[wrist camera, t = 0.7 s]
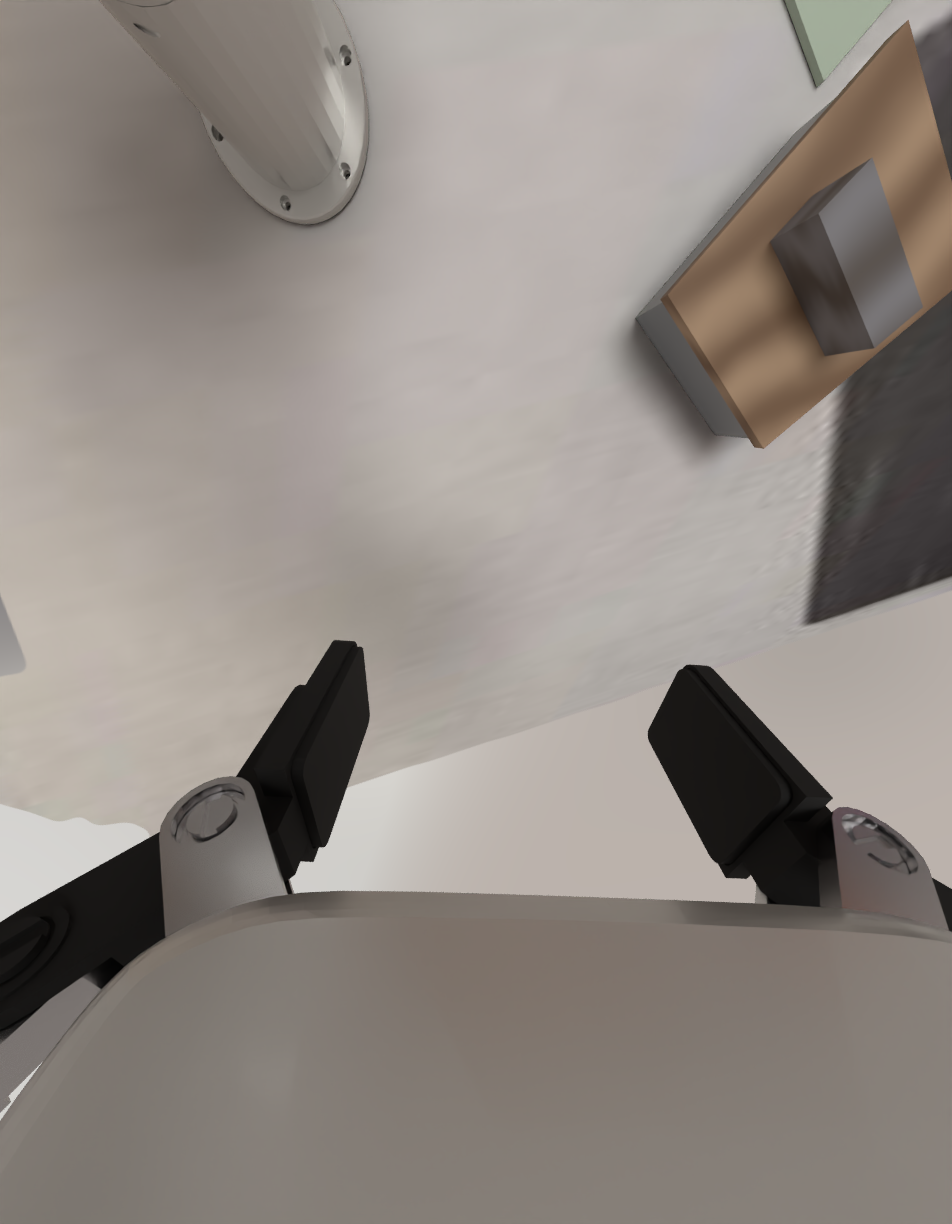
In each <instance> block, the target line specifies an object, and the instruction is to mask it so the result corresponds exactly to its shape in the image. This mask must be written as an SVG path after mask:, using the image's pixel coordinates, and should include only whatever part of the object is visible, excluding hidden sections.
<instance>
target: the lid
mask: <svg viewBox="0 0 952 1224" xmlns="http://www.w3.org/2000/svg"><path fill="white" fill-rule="evenodd" d="M950 291H952V181H951V177H950V173H949V170H948V166H947V162H946V158H945V155H944V151H943V147H942V144H941V140H940V136H939V132H938V129H937V125H936V121H935V117H934V114H933V110H932V106H931V102H930V99H929V95H928V91H927V87H926V84H925V80H924V76H923V72H922V69H921V65H920V61H919V58H918V54H917V50H916V46H915V43H914V39H913V35H912V31H911V28H910V24H909V20H908V21H907V22H906V23H904V24H903V25H902V26H901V27H900V28H899V29H898V30H897V31H896V32H894V33H893V34H892V35H891V36H890V37H889V38H888V39H887V40H886V41H885V42H884V43H883V44H882V45H881V47H880V48H879V49H878V50H877V51H876V52H875V53H874V55H873V56H872V57H871V58H870V59H869V60H868V62H867V63H866V64H865V65H864V66H863V67H862V68H861V70H860V71H859V72H858V73H857V74H856V75H855V76H854V78H853V79H852V80H851V81H850V82H849V83H848V84H847V86H846V87H845V88H844V89H843V90H842V91H841V92H840V94H839V95H838V96H837V97H836V98H835V99H834V100H833V102H832V103H831V104H830V105H829V106H828V107H827V109H826V110H825V111H824V112H823V113H822V114H821V115H820V117H819V118H818V119H817V120H816V121H815V122H814V123H813V125H812V126H811V127H810V128H809V129H808V130H807V131H806V133H805V134H804V135H803V136H802V137H801V138H800V139H799V141H798V142H797V143H796V144H795V145H794V146H793V147H792V149H791V150H790V151H789V152H788V153H787V154H786V155H785V157H784V158H783V159H782V160H781V161H780V162H779V164H778V165H777V166H776V167H775V168H774V169H773V170H772V172H771V173H770V174H769V175H768V176H767V177H766V178H765V180H764V181H763V182H762V183H761V184H760V185H759V186H758V188H757V189H756V190H755V191H754V192H753V193H752V194H751V196H750V197H749V198H748V199H747V200H746V201H745V202H744V204H743V205H742V206H741V207H740V208H739V209H738V211H737V212H736V213H735V214H734V215H733V216H732V217H731V219H730V220H729V221H728V222H727V223H726V224H725V225H724V227H723V228H722V229H721V230H720V231H719V232H718V233H717V235H716V236H715V237H714V238H713V239H712V240H711V241H710V243H709V244H708V245H707V246H706V247H705V248H704V249H703V251H702V252H701V253H700V254H699V255H698V256H697V258H696V259H695V260H694V261H693V262H692V263H691V264H690V266H689V267H688V268H687V269H686V270H685V271H684V272H683V274H682V275H681V276H680V277H679V278H678V279H677V280H676V282H675V283H674V284H673V285H672V286H671V287H670V288H669V290H668V291H667V292H666V293H665V294H664V295H663V296H662V298H661V299H660V300H661V301H662V303H663V305H664V306H665V308H666V309H667V311H668V312H669V314H670V316H671V317H672V319H673V320H674V322H675V323H676V325H677V327H678V328H679V330H680V331H681V333H682V334H683V336H684V338H685V339H686V341H687V342H688V344H689V345H690V347H691V349H692V350H693V352H694V353H695V355H696V356H697V358H698V360H699V361H700V363H701V364H702V366H703V367H704V369H705V371H706V372H707V374H708V375H709V377H710V378H711V380H712V382H713V383H714V385H715V386H716V388H717V389H718V391H719V393H720V394H721V396H722V397H723V399H724V400H725V402H726V404H727V405H728V407H729V408H730V410H731V411H732V413H733V415H734V416H735V418H736V419H737V421H738V422H739V424H740V426H741V427H742V429H743V430H744V432H745V433H746V435H747V437H748V438H749V440H750V441H751V443H752V444H753V446H754V447H756V448H763V449H764V448H765V447H766V446H767V445H768V444H770V443H771V442H772V441H773V440H774V439H776V438H777V437H778V436H779V435H780V434H782V433H783V432H784V431H785V430H786V429H787V428H789V427H790V426H791V425H792V424H793V423H795V422H796V421H797V420H798V419H799V418H801V417H802V416H803V415H804V414H805V413H807V412H808V411H809V410H810V409H811V408H812V407H814V406H815V405H816V404H817V403H818V402H820V401H821V400H822V399H823V398H824V397H826V396H827V395H828V394H829V393H830V392H831V391H833V390H834V389H835V388H836V387H837V386H839V385H840V384H841V383H842V382H843V381H845V380H846V379H847V378H848V377H849V376H851V375H852V374H853V373H854V372H855V371H856V370H858V369H859V368H860V367H861V366H862V365H864V364H865V363H866V362H867V361H868V360H870V359H871V358H872V357H873V356H874V355H875V354H877V353H878V352H879V351H880V350H881V349H883V348H884V347H885V346H886V345H887V344H889V343H890V342H891V341H892V340H893V339H895V338H896V337H897V336H898V335H899V334H900V333H902V332H903V331H904V330H905V329H906V328H908V327H909V326H910V325H911V324H912V323H914V322H915V321H916V320H917V319H918V318H919V317H921V316H922V315H923V314H924V313H925V312H927V311H928V310H929V309H930V308H931V307H933V306H934V305H935V304H936V303H937V302H939V301H940V300H941V299H942V298H943V297H944V296H946V295H947V294H948V293H949V292H950Z"/></svg>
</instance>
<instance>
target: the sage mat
mask: <svg viewBox="0 0 952 1224" xmlns="http://www.w3.org/2000/svg"><path fill="white" fill-rule="evenodd" d="M891 1H892V0H785V3H786V5H787V8H788V11H789V13H790V16H791V19H792V22H793V24H794V27H795V30H796V32H797V35H798V38H799V41H800V43H801V46H802V49H803V51H804V54H805V57H806V60H807V62H808V65H809V68H810V70H811V73H812V76H813V79H814V81H815V84H816V87H818V86H819V85H820V84H821V83H822V82H823V81H824V80H825V79H826V78H827V77H828V75H829V74H830V73H831V72H832V71H833V69H834V68H835V67H836V66H837V65H838V64H839V62H840V61H841V60H842V59H843V58H844V56H845V55H846V54H847V53H848V52H849V51H850V49H851V48H852V47H853V46H854V45H855V43H856V42H857V41H858V40H859V39H860V38H861V36H862V35H863V34H864V33H865V32H866V31H867V29H868V28H869V27H870V26H871V25H872V23H873V22H874V21H875V20H876V19H877V18H878V16H879V15H880V14H881V13H882V12H883V10H884V9H885V8H886V7H887V6H888V5H889V3H890V2H891Z"/></svg>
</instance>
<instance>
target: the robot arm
mask: <svg viewBox="0 0 952 1224" xmlns="http://www.w3.org/2000/svg"><path fill="white" fill-rule="evenodd" d="M99 1H100V2H101V3H102V4H103V5H104V7H105V8H106V9H107V10H108V11H109V12H110V13H111V14H112V15H113V16H114V18H115V19H116V20H117V21H118V22H119V23H120V24H121V25H122V26H123V27H124V28H125V30H126V31H127V32H128V33H129V34H130V35H131V36H132V37H133V38H134V39H135V41H136V42H137V43H138V44H139V45H140V46H141V47H142V48H143V49H144V50H145V51H146V53H147V54H148V55H149V56H150V57H151V58H152V59H153V60H154V61H155V62H156V64H157V65H158V66H159V67H160V68H161V69H162V70H163V71H164V72H165V73H166V74H167V76H168V77H169V78H170V79H171V80H172V81H173V82H174V83H175V84H176V85H177V87H178V88H179V89H180V90H181V91H182V92H183V93H184V94H185V95H186V96H187V97H188V99H189V100H190V101H191V102H192V103H193V104H194V105H195V106H196V107H197V108H198V109H199V112H200V115H201V117H202V120H203V123H204V125H205V128H206V131H207V133H208V135H209V137H210V139H211V141H212V143H213V145H214V147H215V149H216V151H217V153H218V155H219V157H220V158H221V160H222V161H223V163H224V164H225V166H226V167H227V169H228V171H229V172H230V174H231V175H232V176H233V177H234V179H235V180H236V181H237V182H238V183H239V184H240V186H241V187H242V188H243V189H244V190H245V191H246V192H247V193H248V194H249V195H250V196H251V197H252V198H253V199H254V200H255V201H256V202H257V203H258V204H260V205H261V206H262V207H264V208H265V209H266V210H268V211H269V212H270V213H272V214H273V215H276V216H278V217H280V218H282V219H284V220H286V221H289V222H294V223H298V224H316V223H319V222H322V221H325V220H328V219H330V218H331V217H333V216H334V215H335V214H337V213H338V212H340V211H341V210H342V209H343V207H344V206H345V205H346V204H347V203H348V201H349V200H350V199H351V197H352V195H353V194H354V192H355V190H356V188H357V186H358V184H359V182H360V179H361V175H362V172H363V169H364V166H365V161H366V155H367V149H368V140H369V113H368V103H367V93H366V88H365V83H364V79H363V74H362V69H361V65H360V62H359V59H358V56H357V53H356V49H355V46H354V43H353V41H352V38H351V36H350V33H349V31H348V28H347V26H346V23H345V21H344V18H343V16H342V14H341V12H340V11H339V9H338V7H337V5H336V3H335V2H334V0H99ZM347 62H351V63H350V64H349V66H346V64H347ZM223 137H224V139H223V140H222V138H223ZM347 173H349V174H350V177H349V178H348V179H346V174H347ZM289 205H291V209H290V210H289V211H288V206H289ZM369 717H370V712H369V702H368V692H367V682H366V672H365V662H364V653H363V648H362V647H357V644H356V642H354V641H341V640H334V641H333V642H332V643H331V645H330V647H329V648H328V650H327V652H326V653H325V655H324V656H323V658H322V660H321V661H320V663H319V664H318V666H317V668H316V669H315V671H314V672H313V674H312V676H311V677H310V679H309V680H308V682H307V684H306V685H298V686H297V687H295V689H294V690H293V691H292V692H291V694H290V695H289V697H288V698H287V700H286V701H285V703H284V704H283V706H282V708H281V709H280V711H279V712H278V714H277V715H276V717H275V718H274V720H273V721H272V723H271V724H270V726H269V727H268V729H267V730H266V732H265V733H264V735H263V736H262V738H261V740H260V741H259V743H258V744H257V746H256V747H255V749H254V750H253V752H252V753H251V755H250V756H249V758H248V759H247V761H246V762H245V764H244V765H243V767H242V768H241V770H240V771H239V773H238V775H237V776H236V777H232V776H229V777H222V778H217V779H214V780H211V781H208V782H206V783H203V784H202V785H200V786H198V787H196V788H194V789H193V790H191V791H190V792H188V793H187V794H186V795H185V796H183V797H182V798H181V799H180V800H179V801H177V803H176V804H175V805H174V806H173V807H172V808H171V810H170V811H169V812H168V813H167V815H166V817H165V819H164V821H163V823H162V825H161V829H160V832H159V833H157V834H155V835H153V836H152V837H150V838H148V839H146V840H144V841H143V842H141V843H139V844H137V845H136V846H134V847H132V848H130V849H128V850H127V851H125V852H123V853H121V854H120V855H118V856H116V857H114V858H112V859H110V860H109V861H107V862H105V863H103V864H101V865H100V866H98V867H96V868H94V869H92V870H91V871H89V872H87V873H85V874H83V875H82V876H80V877H78V878H76V879H74V880H73V881H71V882H69V883H67V884H65V885H64V886H62V887H60V888H58V889H56V890H55V891H53V892H51V893H49V894H47V895H46V896H44V897H42V898H40V899H38V900H37V901H35V902H33V903H31V904H29V905H28V906H26V907H24V908H22V909H20V910H19V911H17V912H16V913H14V914H13V915H11V916H9V917H8V918H6V919H5V920H3V921H2V922H0V1112H1V1111H2V1110H3V1109H4V1108H5V1107H6V1106H7V1105H8V1104H9V1103H10V1102H11V1101H10V1098H9V1097H8V1096H9V1095H10V1093H11V1092H13V1091H14V1089H16V1088H17V1087H18V1086H19V1084H21V1083H22V1082H23V1081H24V1080H25V1079H26V1077H28V1075H30V1074H31V1072H33V1071H34V1070H35V1069H36V1068H37V1066H38V1065H40V1064H41V1062H42V1064H41V1065H40V1066H39V1068H38V1069H37V1071H36V1072H35V1073H34V1075H33V1076H32V1078H31V1079H30V1080H29V1082H28V1083H27V1084H26V1086H25V1087H24V1088H23V1090H22V1091H21V1092H20V1094H19V1095H18V1096H17V1098H16V1099H15V1101H14V1102H13V1104H12V1105H11V1106H10V1108H9V1109H8V1111H7V1112H6V1114H5V1115H4V1117H3V1118H2V1119H1V1121H0V1224H952V889H951V888H949V887H947V886H945V885H944V884H942V883H940V882H939V881H937V880H935V879H933V878H932V877H931V874H930V871H929V868H928V866H927V864H926V862H925V860H924V859H923V857H922V856H921V855H920V854H919V852H918V851H917V850H916V849H915V848H914V847H913V846H912V845H911V844H910V843H909V842H908V841H907V840H906V839H905V838H904V837H903V836H902V835H901V834H899V833H898V832H897V831H895V830H894V829H892V828H891V827H890V826H889V825H887V824H886V823H884V822H882V821H880V820H879V819H877V818H875V817H873V816H872V815H869V814H867V813H865V812H862V811H860V810H857V809H853V808H849V807H839V808H837V809H836V810H834V811H833V812H831V811H830V810H829V809H828V808H827V807H826V806H825V805H826V804H827V803H828V802H829V801H830V800H831V799H833V798H832V797H831V795H830V794H829V793H828V792H827V791H826V790H825V789H824V788H823V787H822V786H821V785H820V784H819V783H818V781H817V780H816V779H815V778H814V777H813V776H812V775H811V774H810V773H809V772H808V771H807V770H806V769H805V768H804V767H803V765H802V764H801V763H800V762H799V761H798V760H797V759H796V758H795V757H794V756H793V755H792V753H791V752H790V751H789V750H787V748H786V747H785V746H784V745H783V744H782V743H781V742H780V741H779V740H778V738H777V737H776V736H775V735H774V734H773V733H772V732H771V731H770V730H769V729H768V728H767V727H766V725H765V724H764V723H763V722H762V721H761V720H760V719H759V718H758V717H757V716H756V715H755V714H754V713H753V711H751V709H750V708H749V707H748V706H747V705H746V704H745V703H744V702H743V701H742V700H741V699H740V698H739V696H738V695H737V694H736V693H735V692H734V691H733V690H732V689H731V688H730V687H729V686H728V685H727V684H726V683H725V681H724V680H723V679H722V678H721V677H720V676H719V675H718V674H717V673H716V672H715V671H714V670H713V669H712V668H711V667H709V666H702V665H686V666H685V667H684V668H683V669H680V670H679V671H678V672H677V674H676V676H675V678H674V680H673V682H672V684H671V686H670V688H669V690H668V692H667V694H666V696H665V698H664V700H663V702H662V704H661V706H660V708H659V710H658V712H657V714H656V716H655V718H654V720H653V722H652V724H651V726H650V728H649V730H648V739H649V742H650V744H651V746H652V748H653V750H654V751H655V753H656V755H657V757H658V759H659V761H660V763H661V765H662V766H663V769H664V771H665V772H666V774H667V776H668V778H669V780H670V782H671V784H672V786H673V788H674V789H675V791H676V793H677V795H678V797H679V799H680V801H681V803H682V805H683V806H684V808H685V810H686V812H687V814H688V816H689V818H690V819H691V822H692V823H693V825H694V827H695V829H696V831H697V833H698V835H699V837H700V838H701V840H702V842H703V844H704V846H705V848H706V850H707V852H708V854H709V855H710V857H711V858H712V859H713V860H714V861H715V862H716V863H718V864H719V866H720V868H721V870H722V872H723V874H724V875H725V877H726V878H741V879H743V878H744V879H747V878H748V877H749V876H750V875H751V876H752V877H753V879H754V880H755V882H756V884H757V885H756V896H755V897H756V898H755V904H753V903H729V902H705V901H679V900H654V899H627V898H599V897H571V896H569V897H568V896H542V895H510V894H477V893H444V892H394V891H393V892H391V891H330V892H308V893H297V894H294V891H293V888H292V885H291V882H290V878H291V877H292V876H294V875H295V873H296V871H297V868H298V866H299V863H300V861H305V862H308V861H309V862H313V861H314V859H315V856H316V854H317V851H318V848H319V847H325V846H326V845H327V843H328V840H329V838H330V835H331V832H332V828H333V826H334V823H335V820H336V817H337V814H338V811H339V809H340V805H341V803H342V800H343V797H344V794H345V791H346V788H347V785H348V782H349V779H350V776H351V774H352V771H353V768H354V765H355V762H356V759H357V756H358V753H359V750H360V747H361V744H362V741H363V739H364V736H365V733H366V730H367V727H368V723H369Z"/></svg>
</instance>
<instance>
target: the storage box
mask: <svg viewBox="0 0 952 1224" xmlns="http://www.w3.org/2000/svg"><path fill="white" fill-rule="evenodd" d="M832 102H833V101H831V102H830V103H829V104H828V105H827V106H826V107H824V108H823V109H822V110H821V111H820V112H819V113H818V114H816V115H815V116H814V117H813V118H812V119H811V120H809V121H808V122H807V123H806V124H805V125H804V126H803V127H801V128H800V129H799V130H798V131H797V132H796V133H795V134H794V135H793V136H792V137H791V138H790V140H789V141H788V142H787V143H786V144H785V145H784V146H783V148H782V149H781V150H780V151H779V152H778V153H777V155H776V156H775V157H774V158H773V159H772V160H771V162H770V163H769V164H768V165H767V166H766V167H765V168H764V170H763V171H762V172H761V173H760V174H759V175H758V177H757V178H756V179H755V180H754V181H753V182H752V184H751V185H750V186H749V187H748V188H747V189H746V191H745V192H744V193H743V194H742V195H741V196H740V197H739V199H738V200H737V201H736V202H735V203H734V204H733V206H732V207H731V208H730V209H729V210H728V211H727V213H726V214H725V215H724V216H723V217H722V218H721V219H720V221H719V222H718V223H717V224H716V225H715V226H714V228H713V229H712V230H711V231H710V232H709V233H708V235H707V236H706V237H705V238H704V239H703V240H702V242H701V243H700V244H699V245H698V246H697V247H696V248H695V250H694V251H693V252H692V253H691V254H690V255H689V257H688V258H687V259H686V260H685V261H684V262H683V264H682V265H681V266H680V267H679V268H678V269H677V270H676V272H675V273H674V274H673V275H672V276H671V277H670V279H669V280H668V281H667V282H666V283H665V284H664V286H663V287H662V288H661V289H660V290H659V291H658V292H657V294H656V295H655V296H654V297H653V298H652V299H651V301H650V302H649V303H648V304H647V305H646V306H645V308H644V309H643V310H642V311H641V312H640V313H639V315H638V316H637V317H636V319H637V321H638V322H639V324H640V325H641V327H642V328H643V330H644V331H645V333H646V334H647V336H648V337H649V339H650V340H651V342H652V343H653V345H654V346H655V347H656V349H657V350H658V352H659V353H660V355H661V356H662V358H663V359H664V361H665V362H666V364H667V365H668V367H669V368H670V370H671V371H672V372H673V374H674V375H675V377H676V378H677V380H678V381H679V383H680V384H681V386H682V387H683V389H684V390H685V392H686V393H687V395H688V396H689V398H690V399H691V400H692V402H693V403H694V405H695V406H696V408H697V409H698V411H699V412H700V414H701V415H702V417H703V418H704V420H705V421H706V423H707V424H708V425H709V427H710V428H711V430H712V431H713V433H714V434H715V435H721V436H731V437H741V438H748V437H747V435H746V433H745V432H744V430H743V429H742V427H741V426H740V424H739V422H738V421H737V419H736V418H735V416H734V415H733V413H732V411H731V410H730V408H729V407H728V405H727V404H726V402H725V400H724V399H723V397H722V396H721V394H720V393H719V391H718V389H717V388H716V386H715V385H714V383H713V382H712V380H711V378H710V377H709V375H708V374H707V372H706V371H705V369H704V367H703V366H702V364H701V363H700V361H699V360H698V358H697V356H696V355H695V353H694V352H693V350H692V349H691V347H690V345H689V344H688V342H687V341H686V339H685V338H684V336H683V334H682V333H681V331H680V330H679V328H678V327H677V325H676V323H675V322H674V320H673V319H672V317H671V316H670V314H669V312H668V311H667V309H666V308H665V306H664V305H663V303H662V301H661V300H660V299H661V298H662V296H663V295H664V294H665V293H666V292H667V291H668V290H669V288H670V287H671V286H672V285H673V284H674V283H675V282H676V280H677V279H678V278H679V277H680V276H681V275H682V274H683V272H684V271H685V270H686V269H687V268H688V267H689V266H690V264H691V263H692V262H693V261H694V260H695V259H696V258H697V256H698V255H699V254H700V253H701V252H702V251H703V249H704V248H705V247H706V246H707V245H708V244H709V243H710V241H711V240H712V239H713V238H714V237H715V236H716V235H717V233H718V232H719V231H720V230H721V229H722V228H723V227H724V225H725V224H726V223H727V222H728V221H729V220H730V219H731V217H732V216H733V215H734V214H735V213H736V212H737V211H738V209H739V208H740V207H741V206H742V205H743V204H744V202H745V201H746V200H747V199H748V198H749V197H750V196H751V194H752V193H753V192H754V191H755V190H756V189H757V188H758V186H759V185H760V184H761V183H762V182H763V181H764V180H765V178H766V177H767V176H768V175H769V174H770V173H771V172H772V170H773V169H774V168H775V167H776V166H777V165H778V164H779V162H780V161H781V160H782V159H783V158H784V157H785V155H786V154H787V153H788V152H789V151H790V150H791V149H792V147H793V146H794V145H795V144H796V143H797V142H798V141H799V139H800V138H801V137H802V136H803V135H804V134H805V133H806V131H807V130H808V129H809V128H810V127H811V126H812V125H813V123H814V122H815V121H816V120H817V119H818V118H819V117H820V115H821V114H822V113H823V112H824V111H825V110H826V109H827V107H828V106H829V105H830V104H831V103H832Z"/></svg>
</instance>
